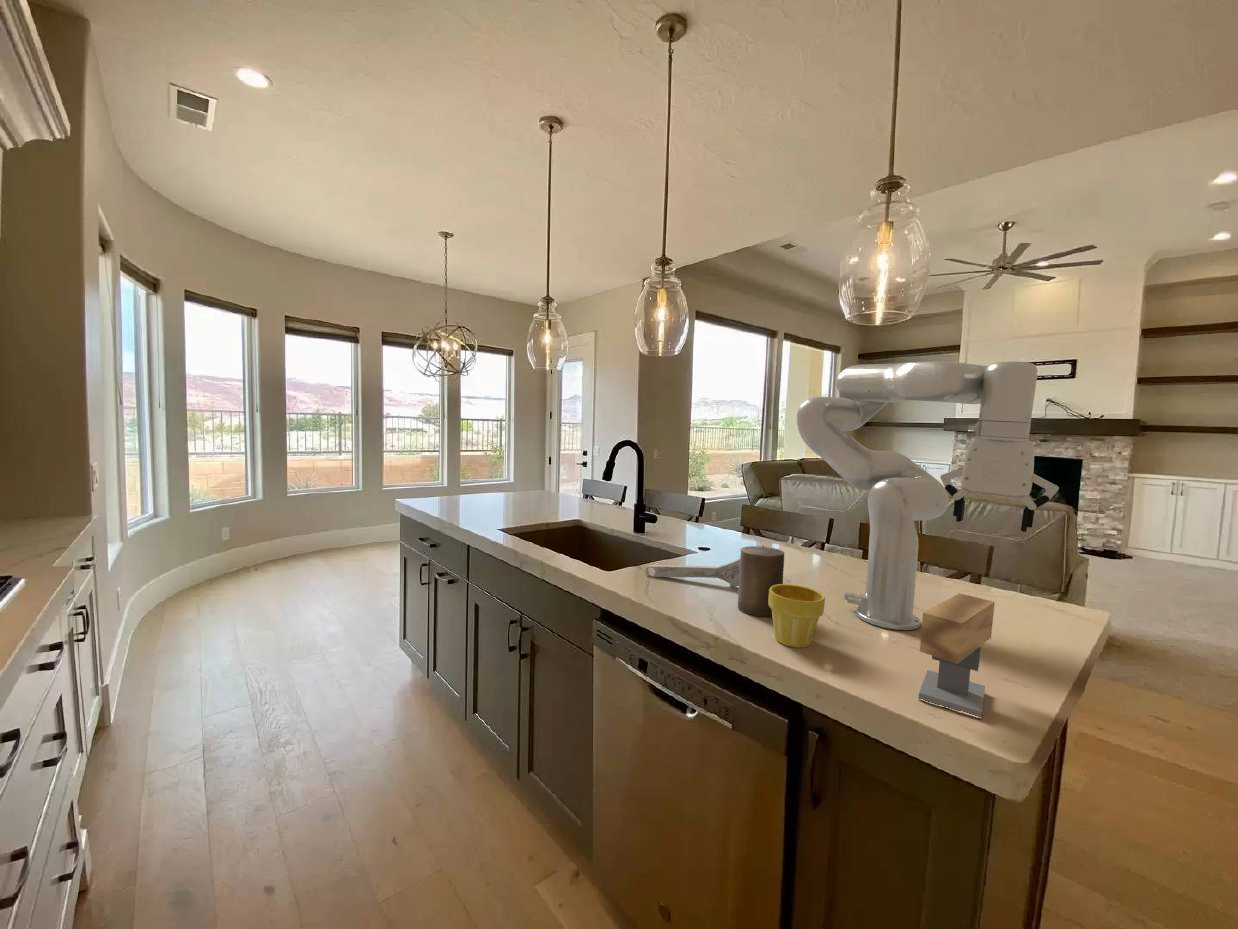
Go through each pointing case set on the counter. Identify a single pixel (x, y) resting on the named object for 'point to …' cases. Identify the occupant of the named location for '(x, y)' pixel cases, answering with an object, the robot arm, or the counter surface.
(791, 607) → the plant pot
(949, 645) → the oak block
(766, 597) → the pillar candle
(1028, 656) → the counter surface
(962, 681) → the stand
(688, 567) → the wrench
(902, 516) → the robot arm
